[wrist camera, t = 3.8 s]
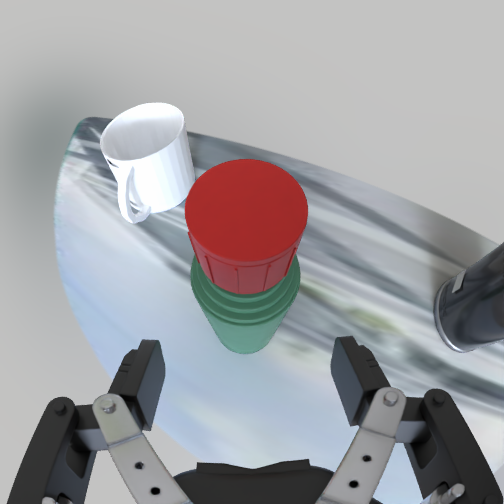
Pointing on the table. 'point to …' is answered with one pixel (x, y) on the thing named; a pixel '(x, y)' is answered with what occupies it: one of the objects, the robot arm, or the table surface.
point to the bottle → (245, 309)
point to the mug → (149, 159)
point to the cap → (245, 224)
